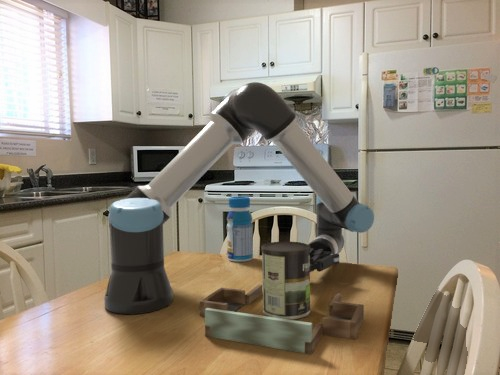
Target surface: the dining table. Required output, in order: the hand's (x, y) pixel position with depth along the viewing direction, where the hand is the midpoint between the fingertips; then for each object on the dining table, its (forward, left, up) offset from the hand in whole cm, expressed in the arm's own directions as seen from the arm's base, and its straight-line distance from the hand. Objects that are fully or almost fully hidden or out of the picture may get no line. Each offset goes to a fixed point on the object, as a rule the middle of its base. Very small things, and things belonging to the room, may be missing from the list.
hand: (297, 273), depth 96 cm
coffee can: (0, -7, -7) cm, 10 cm away
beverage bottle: (-28, +31, -7) cm, 42 cm away
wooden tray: (0, -11, -6) cm, 13 cm away
